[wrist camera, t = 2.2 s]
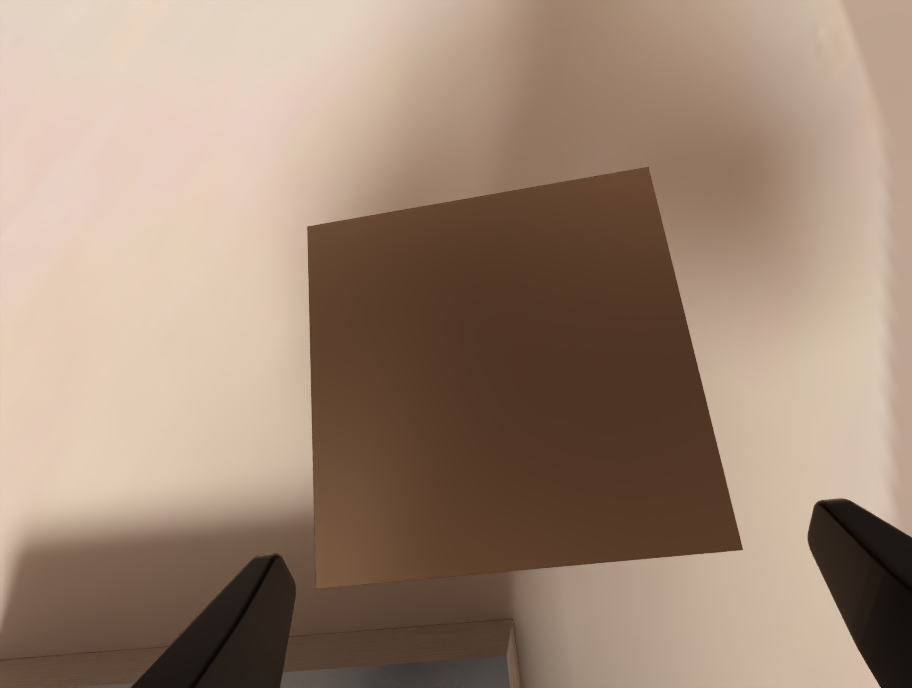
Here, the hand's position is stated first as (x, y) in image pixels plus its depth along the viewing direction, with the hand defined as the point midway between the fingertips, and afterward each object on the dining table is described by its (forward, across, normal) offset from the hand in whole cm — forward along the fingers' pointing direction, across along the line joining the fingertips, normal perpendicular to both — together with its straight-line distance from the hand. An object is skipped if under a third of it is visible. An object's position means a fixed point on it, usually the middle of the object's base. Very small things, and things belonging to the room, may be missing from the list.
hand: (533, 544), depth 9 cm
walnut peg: (+8, 0, +6) cm, 10 cm away
